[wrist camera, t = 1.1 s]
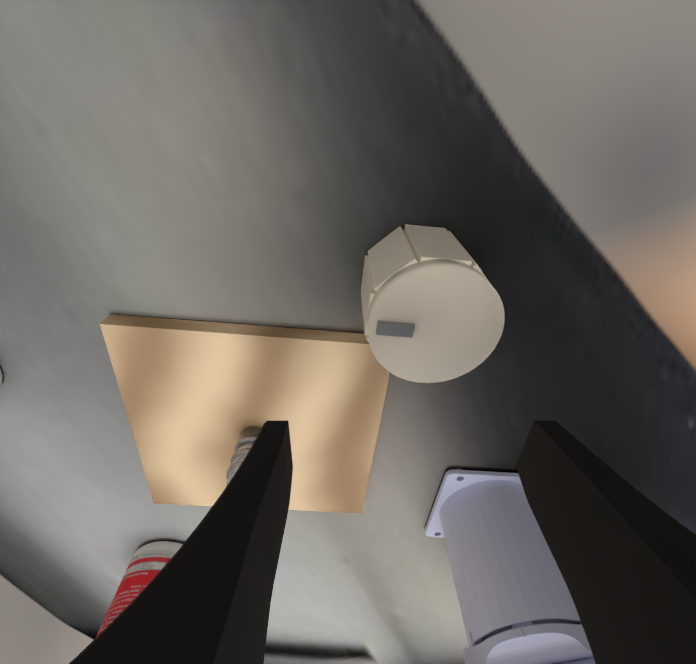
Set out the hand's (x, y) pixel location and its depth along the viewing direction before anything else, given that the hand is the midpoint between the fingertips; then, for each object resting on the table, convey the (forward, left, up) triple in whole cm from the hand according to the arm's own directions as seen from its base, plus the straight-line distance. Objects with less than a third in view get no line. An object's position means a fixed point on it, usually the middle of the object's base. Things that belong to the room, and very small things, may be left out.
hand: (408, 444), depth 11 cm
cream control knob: (-2, -1, -10) cm, 10 cm away
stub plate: (+6, +10, -10) cm, 15 cm away
